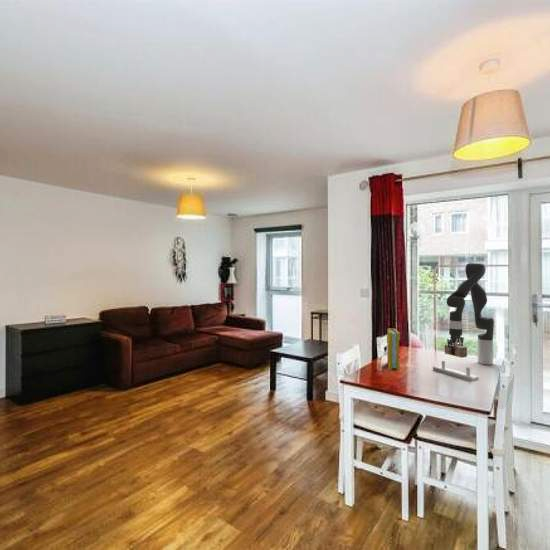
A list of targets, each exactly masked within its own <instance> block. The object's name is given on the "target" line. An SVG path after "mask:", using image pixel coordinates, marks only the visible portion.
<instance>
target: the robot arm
mask: <svg viewBox="0 0 550 550" xmlns="http://www.w3.org/2000/svg"><path fill="white" fill-rule="evenodd" d="M464 270H465V271H464V272H465V276H466V279H465V280H464V281H463V282H462V283H460V284H459V285H458V287H457V289H456V290H454V292H453V293H451V294H450V295H449V296H448V297H447V299H446V305H447V306H448V307H449V308H456V310H452V311H450V312H449V320H448V321H449V323H448V334H449V335H450V337H449V338H447V339H446V341H447V344H448V348H451V354H452V355H451V356H453V355H454V354H455V346H456V345H459V346H463V347H464V340H465V337H462V336H463V321H462V320H463V313H464V312H463V311H464V308H465V307H466V300H465V298H466V297H467V296H468V294H469V293H470V298H471V302H472V306H473V307H472V308H473V314H474V324H475V327H476V328H477V329H478V330H484V331H486V332H483V333H479V334H478V335H477V363H478V364H480V365H485V364H486V366H488V365H489V366H490V365H491V364H492V365H493V364H494V328H495V320H494V318H493V317H492V316H491V317H490V316H483V315H482V311H483V309H484V307H486V305H487V303H488V297H487V292H486V289H484V288H483V286H482V285H481V284H479V281H480V280H481V279H482V278H483V277H484V276H485V273H486V266H485V264H484V263H480V262H479V263H478V262H477V263H476V262H475V263H474V262H469V263H467V264H466V265H465V269H464Z"/></svg>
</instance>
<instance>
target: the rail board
mask: <svg viewBox="0 0 550 550" xmlns="http://www.w3.org/2000/svg"><path fill="white" fill-rule="evenodd" d="M465 368H466V369H465V370H466V371H465V372H464V371H461V370H456V369H452V368H449V367H446V361H445V360H441V365H440V366H436V365H433V366H432V370H433V371H435V372H438V373H442V374H446V375H447V376H451V377H454V378H459V379H462V380H466V381H469V382H473V381H477V380H479V376H478V375H474V374H471V367H469V366H467V367H465Z"/></svg>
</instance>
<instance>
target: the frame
mask: <svg viewBox="0 0 550 550" xmlns="http://www.w3.org/2000/svg"><path fill="white" fill-rule="evenodd" d="M444 354H445V355H449V356H453V357H457V358H467V357H468V347H467V346H464V345H463V346H459V345H456V346H455V354H454V355H452V354H451V348H448V343H446V344H444Z"/></svg>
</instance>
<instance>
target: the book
mask: <svg viewBox="0 0 550 550" xmlns="http://www.w3.org/2000/svg"><path fill="white" fill-rule="evenodd" d="M386 331H387V332H386V333H387V334H386V344H387V346H386V347H387V349H386V350H387V354H386V355H387V366H388V369H389V370H393V369H396V370H397V371H400V369H401V368H400V366H401V363H400V340H401V339H400V338H401V333H400V331H398V329H396V328H390V327H389V328H387V330H386Z"/></svg>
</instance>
